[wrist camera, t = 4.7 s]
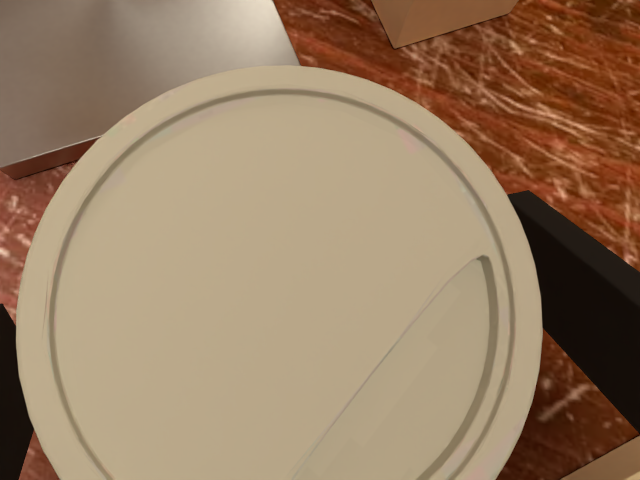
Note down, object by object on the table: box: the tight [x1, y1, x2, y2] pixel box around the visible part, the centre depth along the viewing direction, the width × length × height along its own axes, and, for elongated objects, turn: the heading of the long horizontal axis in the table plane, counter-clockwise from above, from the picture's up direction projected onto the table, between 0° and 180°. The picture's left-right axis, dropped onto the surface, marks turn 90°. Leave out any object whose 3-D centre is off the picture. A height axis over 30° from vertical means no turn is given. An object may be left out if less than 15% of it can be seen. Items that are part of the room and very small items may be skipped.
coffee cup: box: [16, 65, 543, 480], centre depth 13 cm, size 9×8×12 cm
